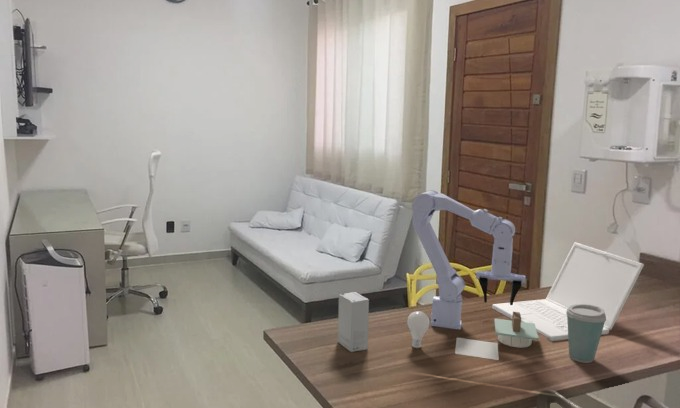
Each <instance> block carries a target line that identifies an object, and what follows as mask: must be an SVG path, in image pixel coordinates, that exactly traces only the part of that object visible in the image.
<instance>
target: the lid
mask: <svg viewBox="0 0 680 408" xmlns="http://www.w3.org/2000/svg"><path fill="white" fill-rule="evenodd" d="M494 334H495V335H496V336H498V335H504V336H511V337H518V338H525V339H532V340H533V341H539V335H538V332H537V331H536V327H535V324H534V323H526V322H521V315H520V312H513V317H512V319H511V320H510V319H502V318H494Z"/></svg>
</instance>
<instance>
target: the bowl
mask: <svg viewBox="0 0 680 408" xmlns="http://www.w3.org/2000/svg"><path fill="white" fill-rule="evenodd" d="M497 340H498V342H500V343H501V344H503V345H505V346H508V347H512V348H513V347H514V348H528V347H530V346H531V345H532V340H533V339H525V338H518V337H511V336H504V335H497Z"/></svg>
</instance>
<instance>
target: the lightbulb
mask: <svg viewBox="0 0 680 408" xmlns="http://www.w3.org/2000/svg"><path fill="white" fill-rule="evenodd" d="M406 320H407V321H406V323H407V327H408V329H409V331H410V333H411V334H410V335H411V338H412V339H411V340H412V341H411V346H412V348H415V349H420V348H422V340H423V338H424V335H425V333H426V331H428V329H429V327H430V325H431V321H430V317H429V316H428V315H427V313H425V312H424V311H421V310H416V311H413V312H411V313H410V314H409V315H408V317H407V319H406Z"/></svg>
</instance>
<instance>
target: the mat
mask: <svg viewBox="0 0 680 408" xmlns="http://www.w3.org/2000/svg"><path fill="white" fill-rule="evenodd" d="M454 350H455V351H454V354H455V355H460V356H462V355H463V356H469V357H473V358H474V357H475V358H483V359H488V360H493V361H494V360H495V361H500V360H499V344H498V342H490V341H484V340H483V341H482V340H477V339H470V338H464V337H456V342H455V348H454Z"/></svg>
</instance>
